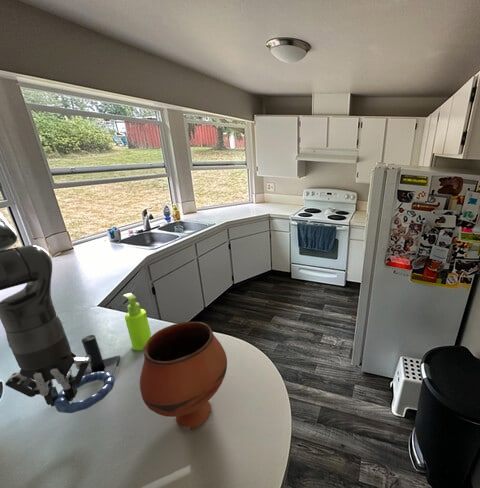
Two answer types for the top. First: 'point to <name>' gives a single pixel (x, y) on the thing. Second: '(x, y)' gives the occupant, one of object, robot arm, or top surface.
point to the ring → (71, 407)
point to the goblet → (182, 372)
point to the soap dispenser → (137, 323)
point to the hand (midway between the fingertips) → (63, 400)
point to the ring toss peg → (98, 357)
